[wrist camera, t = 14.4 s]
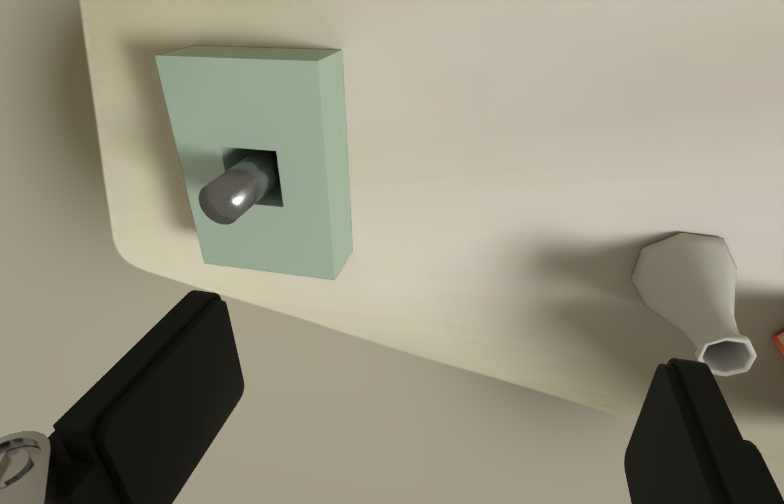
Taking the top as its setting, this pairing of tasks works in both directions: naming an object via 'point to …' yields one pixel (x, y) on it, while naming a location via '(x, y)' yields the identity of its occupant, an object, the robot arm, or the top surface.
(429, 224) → the top surface
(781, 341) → the cracker box
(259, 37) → the top surface
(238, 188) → the peg
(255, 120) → the green block with hole
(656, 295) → the flask
